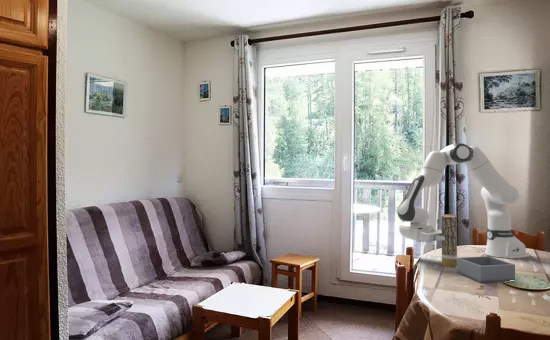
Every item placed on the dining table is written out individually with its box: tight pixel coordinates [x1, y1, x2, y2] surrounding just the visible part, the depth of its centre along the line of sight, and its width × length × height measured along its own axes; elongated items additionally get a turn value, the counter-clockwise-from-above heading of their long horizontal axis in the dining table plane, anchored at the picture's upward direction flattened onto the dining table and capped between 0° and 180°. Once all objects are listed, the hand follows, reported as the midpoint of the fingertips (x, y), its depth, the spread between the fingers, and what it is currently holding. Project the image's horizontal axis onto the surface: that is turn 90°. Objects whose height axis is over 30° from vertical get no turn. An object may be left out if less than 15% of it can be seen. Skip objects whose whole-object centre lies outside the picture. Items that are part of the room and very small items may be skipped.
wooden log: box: [441, 213, 458, 268], centre depth 188 cm, size 7×7×25 cm
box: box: [456, 255, 516, 284], centre depth 169 cm, size 16×16×7 cm
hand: (450, 237), depth 187 cm, fingers closed on wooden log, 7 cm apart
